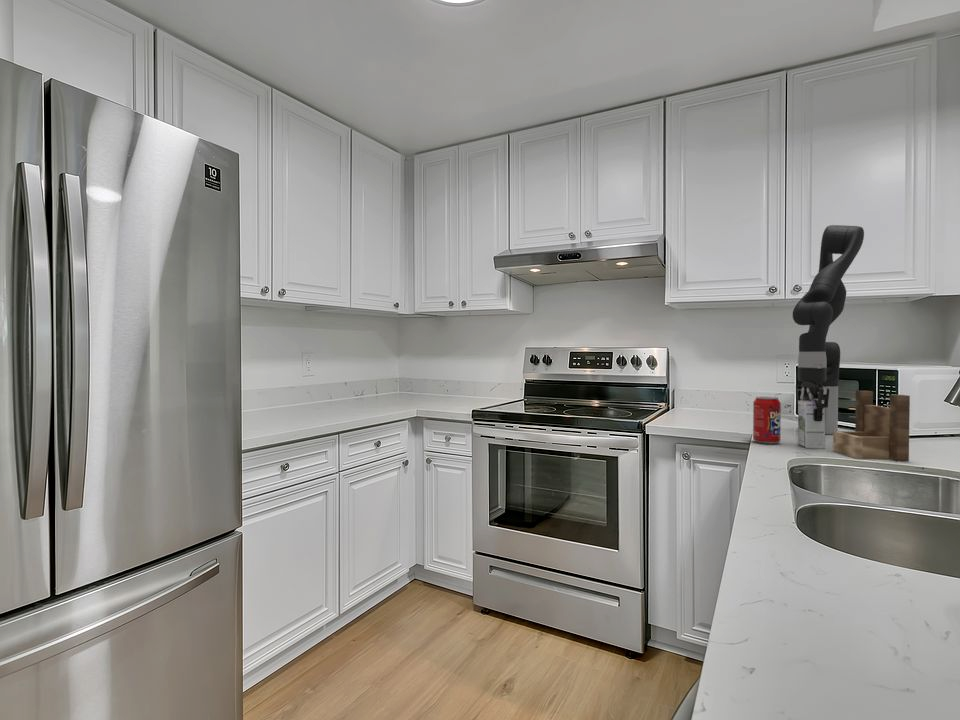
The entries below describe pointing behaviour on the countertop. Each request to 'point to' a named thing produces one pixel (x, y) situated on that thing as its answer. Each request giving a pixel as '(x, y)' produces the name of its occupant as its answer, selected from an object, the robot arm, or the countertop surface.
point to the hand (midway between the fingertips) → (811, 419)
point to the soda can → (766, 420)
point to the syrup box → (810, 426)
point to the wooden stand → (877, 430)
